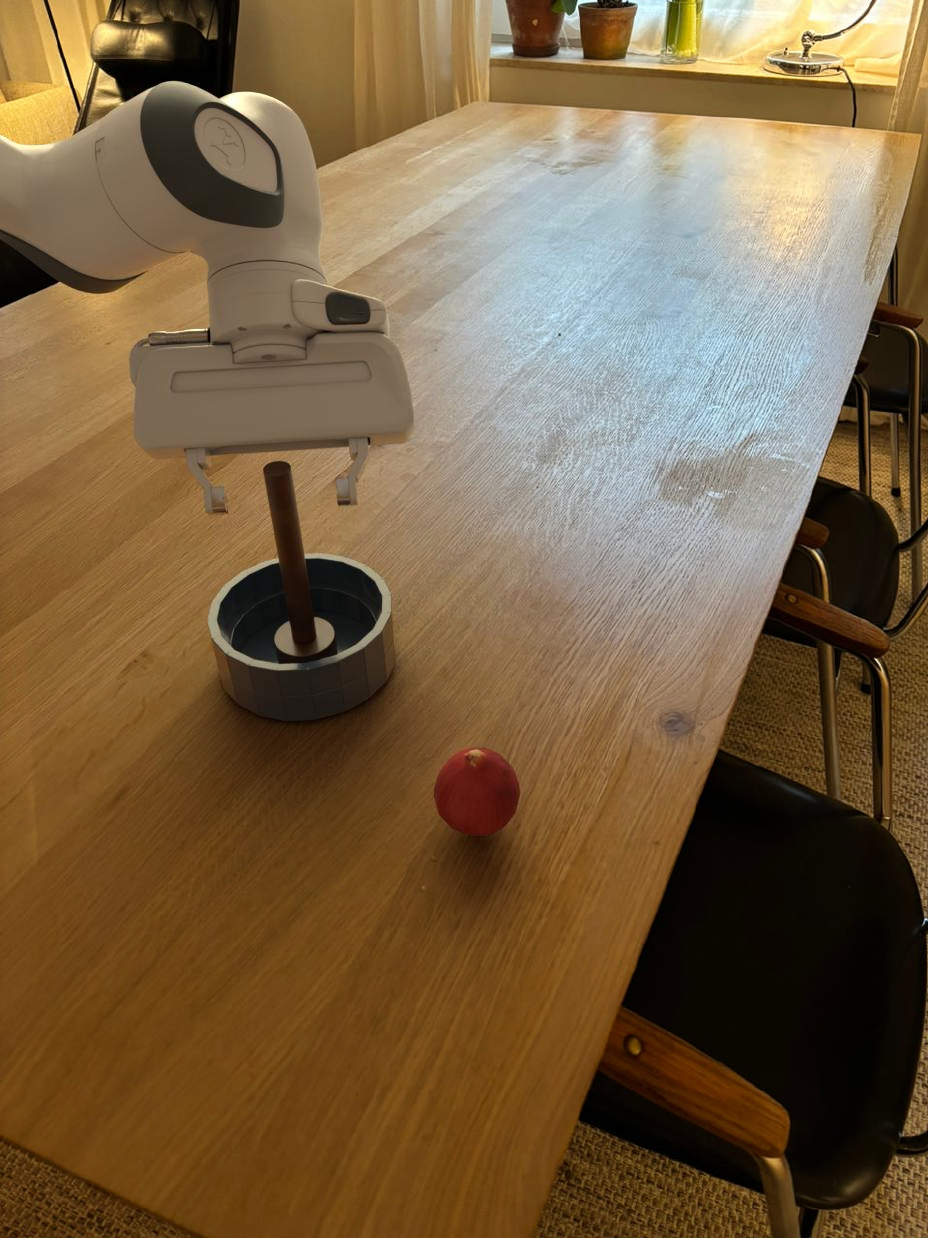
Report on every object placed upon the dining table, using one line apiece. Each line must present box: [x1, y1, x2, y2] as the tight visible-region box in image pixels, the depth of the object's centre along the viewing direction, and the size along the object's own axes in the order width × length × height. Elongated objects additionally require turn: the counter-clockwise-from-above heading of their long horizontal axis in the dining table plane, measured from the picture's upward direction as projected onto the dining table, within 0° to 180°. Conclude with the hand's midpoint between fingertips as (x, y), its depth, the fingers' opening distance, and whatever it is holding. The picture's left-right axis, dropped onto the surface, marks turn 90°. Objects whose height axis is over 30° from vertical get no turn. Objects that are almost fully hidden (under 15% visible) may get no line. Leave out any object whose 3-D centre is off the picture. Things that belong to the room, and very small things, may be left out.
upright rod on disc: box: [262, 460, 338, 664], centre depth 77 cm, size 5×5×18 cm
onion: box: [433, 747, 521, 837], centre depth 67 cm, size 6×6×8 cm
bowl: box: [206, 552, 397, 722], centre depth 81 cm, size 15×15×6 cm
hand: (283, 509), depth 72 cm, fingers open, 8 cm apart
